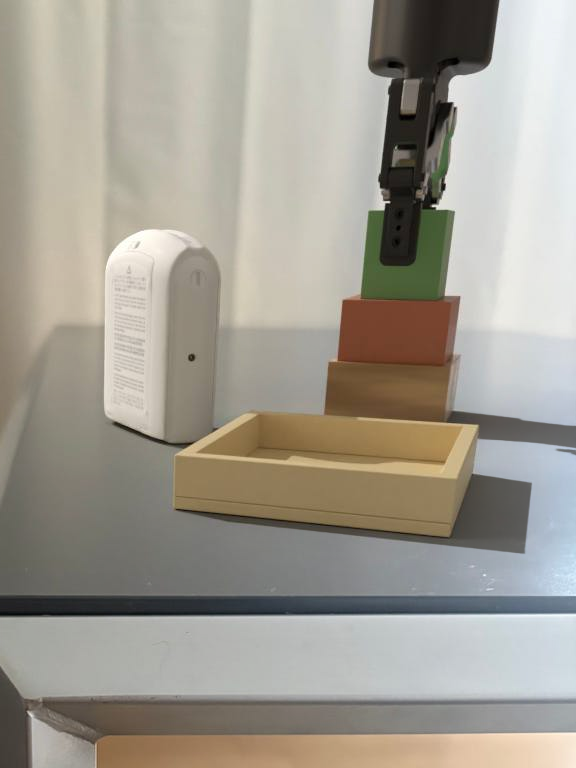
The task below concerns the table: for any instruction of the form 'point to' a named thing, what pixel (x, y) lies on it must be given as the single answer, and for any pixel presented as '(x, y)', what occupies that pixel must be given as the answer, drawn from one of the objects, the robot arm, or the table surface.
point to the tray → (331, 471)
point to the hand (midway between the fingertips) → (405, 264)
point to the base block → (392, 390)
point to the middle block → (398, 330)
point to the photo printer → (162, 335)
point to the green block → (423, 274)
